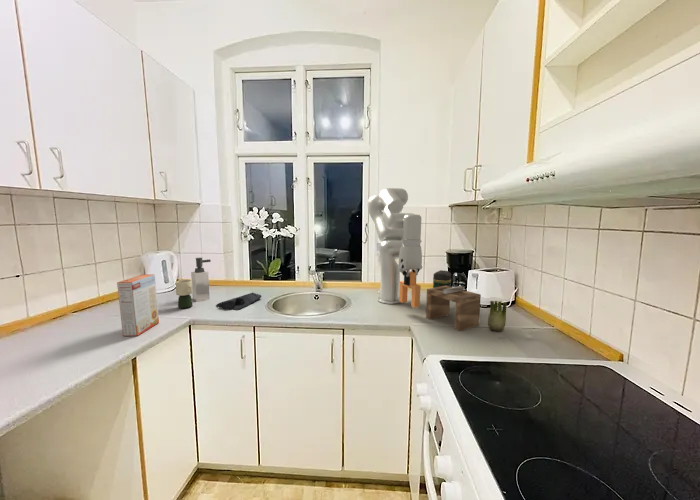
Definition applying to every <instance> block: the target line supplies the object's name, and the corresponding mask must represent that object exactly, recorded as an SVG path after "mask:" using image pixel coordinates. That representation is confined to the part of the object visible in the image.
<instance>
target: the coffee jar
mask: <svg viewBox="0 0 700 500" xmlns="http://www.w3.org/2000/svg"><path fill="white" fill-rule="evenodd" d="M441 286H450V287H452V273H451V272H450V271H449V270H442V269H441V270H438V271H436V272H434V273H433V278H432V288H435V287H441ZM449 309H450V306H449Z"/></svg>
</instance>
